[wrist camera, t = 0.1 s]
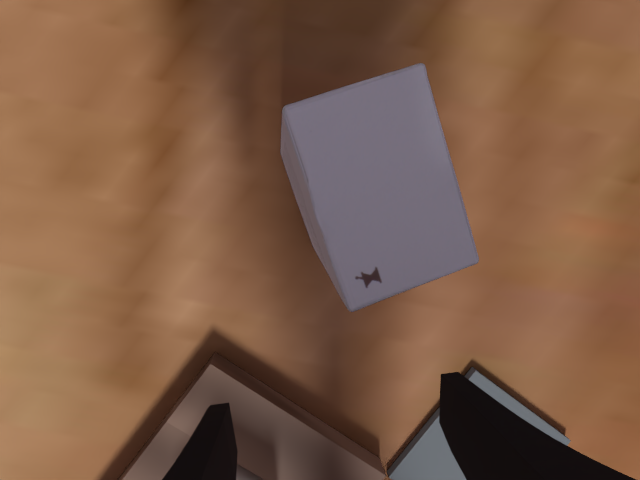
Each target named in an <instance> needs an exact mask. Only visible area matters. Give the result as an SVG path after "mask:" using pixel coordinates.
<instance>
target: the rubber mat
mask: <svg viewBox="0 0 640 480" xmlns="http://www.w3.org/2000/svg"><path fill="white" fill-rule="evenodd" d="M464 377H466V378H467V379H468V380H470V381H471V382H472V383H474V384H475V385H476V386H478V387H479V388H480V389H482V390H483V391H484V392H486V393H487V394H488V395H490V396H491V397H492V398H494V399H495V400H497V401H498V402H499V403H501V404H502V405H504V406H505V407H506V408H508V409H509V410H511V411H512V412H514V413H515V414H516V415H518V416H519V417H521V418H522V419H524V420H525V421H527V422H528V423H530V424H532V425H533V426H535V427H536V428H538V429H539V430H541V431H543V432H544V433H546V434H547V435H549V436H551V437H552V438H554V439H556V440H558V441H559V442H561V443H563V444H565V445H568V444H569V443H570V440H569V439H568V438H567V437H566V436H565V435H563V434H562V433H561V432H559V431H558V430H557V429H555V428H554V427H552V426H551V425H550V424H548V423H547V422H546V421H544V420H543V419H542V418H540V417H539V416H538V415H536V414H535V413H534V412H532V411H531V410H530V409H528V408H527V407H525V406H524V405H523V404H521V403H520V402H519V401H517V400H516V399H515V398H513V397H512V396H511V395H509V394H508V393H507V392H505V391H504V390H503V389H501V388H500V387H498V386H497V385H496V384H494V383H493V382H492V381H490V380H489V379H488V378H486V377H485V376H484V375H482V374H481V373H480V372H478V371H477V370H476V369H474V368H473V367H471V369H470V370H469V371H468V372H467V374H466V375H465V376H464ZM439 413H440V407H439V408H438V409H437V410H436V412H435V413H434V414H433V415H432V416H431V418H430V419H429V420H428V421H427V423H426V424H425V425H424V426H423V428H422V429H421V430H420V431H419V432H418V434H417V435H416V436H415V437H414V439H413V440H412V441H411V442H410V443H409V445H408V446H407V447H406V448H405V450H404V451H403V452H402V453H401V455H400V456H399V457H398V458H397V459H396V461H395V462H394V463H393V464H392V466H391V467H390V468H389V469H388V470H387V474H388V477H389V478H391V479H392V480H466V478H465V476H464V474H463V472H462V470H461V469H460V467H459V465H458V463H457V461H456V459H455V458H454V456H453V454H452V452H451V450H450V447H449V445H448V443H447V440H446V438H445V435H444V433H443V430H442V428H441V425H440V423H439Z"/></svg>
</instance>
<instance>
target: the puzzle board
mask: <svg viewBox="0 0 640 480" xmlns="http://www.w3.org/2000/svg"><path fill="white" fill-rule="evenodd" d="M222 403H229V405H230V411H231V417H232V422H233V428H234V434H235V439H236V445H237V451H238V453H237V464H239V465H240V466H242V467H244V468H245V469H247V470H249V471H250V472H252V473H254V474H256V475H257V476H259V477H261V478H262V479H264V480H383V479H384V478H385V476H386V474H385V471H384V469H383V466H382V463H381V460H380V458H378V457H377V456H375V455H374V454H372V453H371V452H369V451H368V450H366V449H364V448H363V447H361V446H360V445H358V444H357V443H355V442H354V441H352V440H350V439H349V438H347V437H346V436H344V435H343V434H341V433H340V432H338V431H337V430H335V429H333V428H332V427H330V426H329V425H327V424H326V423H324V422H323V421H321V420H319V419H318V418H316V417H315V416H313V415H312V414H310V413H309V412H307V411H305V410H304V409H302V408H301V407H299V406H298V405H296V404H295V403H293V402H292V401H290V400H288V399H287V398H285V397H284V396H282V395H281V394H279V393H278V392H276V391H274V390H273V389H271V388H270V387H268V386H267V385H265V384H264V383H262V382H261V381H259V380H257V379H256V378H254V377H253V376H251V375H250V374H248V373H247V372H245V371H243V370H242V369H240V368H239V367H237V366H236V365H234V364H233V363H231V362H229V361H228V360H226V359H225V358H223V357H222V356H220V355H219V354H217V353H216V352H215V353H214V354H213V355H212V357H211V358H210V359H209V361H208V362H207V363H206V365H205V366H204V367H203V369H202V370H201V371H200V373H199V374H198V375H197V376H196V378H195V379H194V380H193V382H192V383H191V384H190V386H189V387H188V388H187V390H186V391H185V392H184V394H183V395H182V396H181V397H180V399H179V400H178V401H177V403H176V404H175V405H174V407H173V408H172V409H171V411H170V412H169V413H168V415H167V416H166V417H165V419H164V420H163V421H162V422H161V424H160V425H159V426H158V428H157V429H156V430H155V432H154V433H153V434H152V436H151V437H150V438H149V440H148V441H147V442H146V443H145V445H144V446H143V447H142V449H141V450H140V451H139V453H138V454H137V455H136V457H135V458H134V459H133V461H132V462H131V463H130V464H129V466H128V467H127V468H126V470H125V471H124V472H123V474H122V475H121V476H120V478H119V479H118V480H162V479H163V478H164V476H165V475H166V473H167V472H168V471H169V469H170V468H171V466H172V465H173V464H174V462H175V461H176V459H177V458H178V456H179V454H180V453H181V451H182V450H183V448H184V447H185V445H186V444H187V442H188V441H189V439H190V437H191V436H192V434H193V432H194V431H195V429H196V427H197V426H198V424H199V422H200V421H201V419H202V417H203V415H204V413H205V412H206V410H207V408H208V407H209V406H210V405H215V404H222Z"/></svg>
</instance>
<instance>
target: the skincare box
mask: <svg viewBox="0 0 640 480" xmlns="http://www.w3.org/2000/svg"><path fill="white" fill-rule="evenodd" d="M280 153H281V156H282V160H283V163H284V166H285V169H286V172H287V175H288V178H289V181H290V184H291V187H292V189H293V192H294V195H295V198H296V201H297V204H298V207H299V209H300V212H301V215H302V218H303V221H304V223H305V226H306V229H307V232H308V234H309V237H310V240H311V243H312V246H313V248H314V249H315V251H316V253H317V255H318V257H319V259H320V260H321V262H322V264H323V266H324V268H325V269H326V271H327V273H328V275H329V277H330V279H331V280H332V282H333V284H334V286H335V288H336V290H337V292H338V294H339V296H340V298H341V299H342V301H343V303H344V304H345V306H346V307H347V309H348V310H349V311H351V312H354V311H356V310H359V309H361V308H364V307H366V306H369V305H371V304H374V303H376V302H379V301H381V300H384V299H386V298H389V297H392V296H394V295H397V294H399V293H402V292H404V291H407V290H409V289H412V288H415V287H417V286H420V285H422V284H425V283H427V282H430V281H433V280H435V279H438V278H440V277H443V276H446V275H449V274H451V273H454V272H456V271H459V270H461V269H464V268H467V267H469V266H472V265H474V264H477V263H478V261H479V257H478V254H477V250H476V247H475V243H474V239H473V236H472V232H471V228H470V225H469V221H468V217H467V214H466V210H465V207H464V203H463V199H462V196H461V192H460V189H459V185H458V182H457V178H456V175H455V171H454V168H453V165H452V161H451V158H450V154H449V151H448V148H447V144H446V141H445V137H444V134H443V130H442V127H441V123H440V120H439V116H438V112H437V109H436V105H435V102H434V98H433V95H432V91H431V87H430V84H429V80H428V77H427V72H426V67H425V65H424V64H423V63H419V64H415V65H412V66H409V67H406V68H403V69H399V70H396V71H393V72H390V73H386V74H383V75H380V76H377V77H374V78H370V79H367V80H364V81H361V82H357V83H354V84H351V85H348V86H344V87H341V88H338V89H335V90H332V91H329V92H326V93H322V94H319V95H316V96H313V97H310V98H307V99H304V100H301V101H298V102H295V103H291V104H288V105H286V106H284V107H283V109H282V123H281V148H280Z"/></svg>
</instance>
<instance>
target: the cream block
mask: <svg viewBox="0 0 640 480" xmlns="http://www.w3.org/2000/svg"><path fill="white" fill-rule="evenodd" d="M236 480H264V479H262V478H261V477H259V476H257V475H256V474H254V473H252V472H250V471H249V470H247V469H245V468H244V467H242V466H240V465H239V464H237V473H236Z"/></svg>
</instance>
